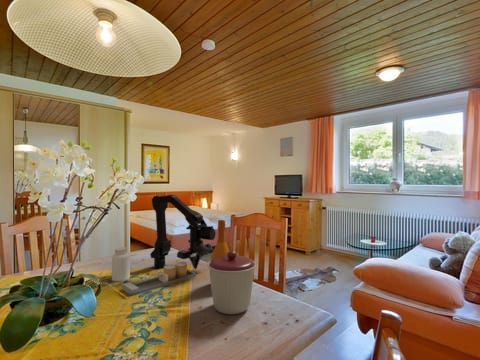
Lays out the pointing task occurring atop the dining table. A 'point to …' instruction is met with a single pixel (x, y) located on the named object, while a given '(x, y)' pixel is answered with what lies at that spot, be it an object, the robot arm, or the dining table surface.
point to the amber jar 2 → (181, 269)
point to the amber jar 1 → (170, 271)
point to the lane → (152, 284)
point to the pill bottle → (120, 264)
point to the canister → (231, 282)
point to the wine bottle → (220, 242)
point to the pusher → (161, 276)
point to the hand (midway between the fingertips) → (195, 268)
